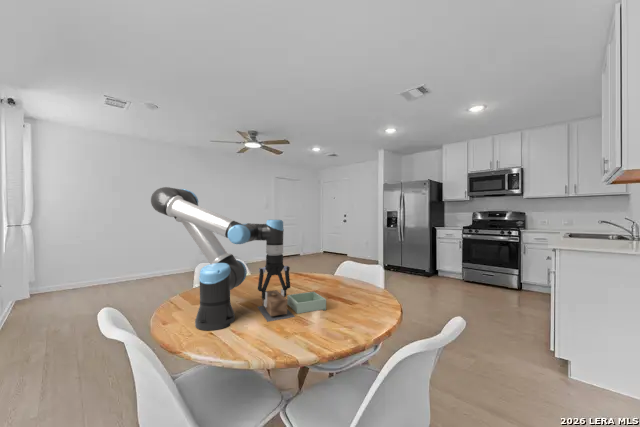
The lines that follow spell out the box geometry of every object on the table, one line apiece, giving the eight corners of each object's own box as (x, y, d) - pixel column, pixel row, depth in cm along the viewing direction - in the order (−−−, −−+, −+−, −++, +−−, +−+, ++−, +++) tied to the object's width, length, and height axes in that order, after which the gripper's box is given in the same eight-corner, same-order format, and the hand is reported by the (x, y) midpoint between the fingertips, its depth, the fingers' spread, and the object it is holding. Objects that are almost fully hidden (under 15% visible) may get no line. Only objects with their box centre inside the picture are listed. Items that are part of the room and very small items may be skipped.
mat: (267, 323, 111) (267, 321, 111) (256, 307, 129) (256, 306, 129) (295, 318, 116) (295, 316, 116) (281, 304, 134) (281, 302, 134)
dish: (297, 315, 119) (297, 303, 119) (287, 305, 132) (287, 295, 132) (326, 310, 125) (326, 299, 125) (313, 301, 138) (313, 291, 138)
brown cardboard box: (270, 316, 114) (271, 299, 114) (262, 304, 128) (262, 289, 128) (287, 313, 116) (287, 297, 116) (276, 302, 131) (276, 288, 131)
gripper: (253, 256, 115) (253, 311, 115) (298, 254, 123) (297, 305, 123) (250, 254, 121) (249, 305, 121) (293, 251, 130) (292, 300, 130)
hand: (274, 305), depth 122 cm, fingers closed on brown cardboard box, 7 cm apart
